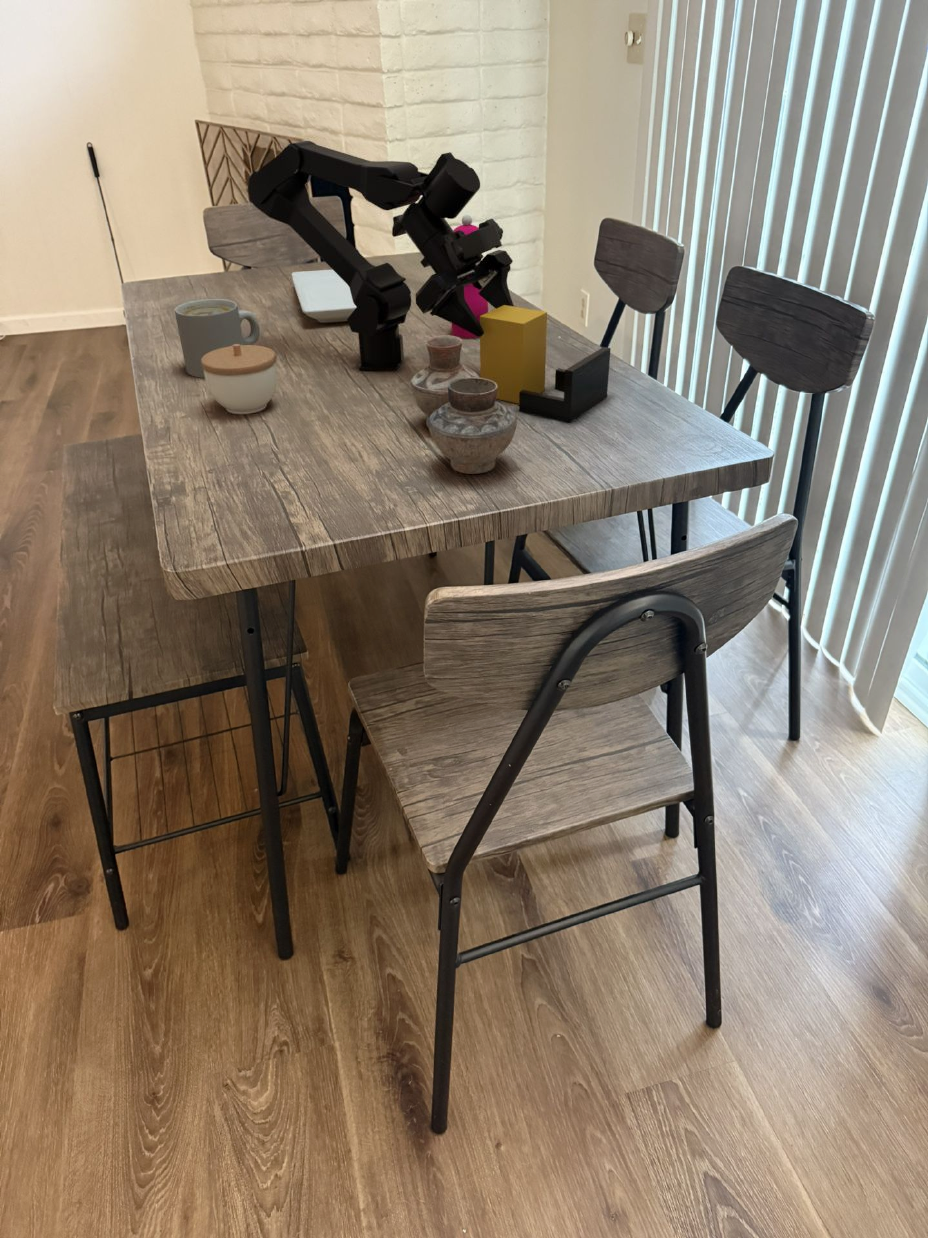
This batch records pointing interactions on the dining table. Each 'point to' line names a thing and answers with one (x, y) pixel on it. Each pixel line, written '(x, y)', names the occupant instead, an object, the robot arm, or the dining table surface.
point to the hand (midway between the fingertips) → (498, 327)
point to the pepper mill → (470, 288)
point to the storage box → (514, 350)
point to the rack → (572, 389)
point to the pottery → (462, 409)
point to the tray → (323, 295)
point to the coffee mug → (211, 329)
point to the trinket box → (241, 377)
